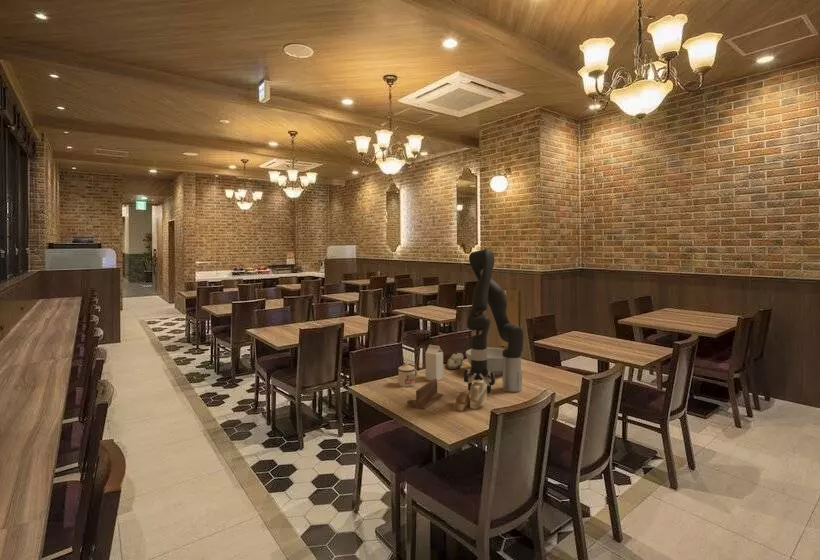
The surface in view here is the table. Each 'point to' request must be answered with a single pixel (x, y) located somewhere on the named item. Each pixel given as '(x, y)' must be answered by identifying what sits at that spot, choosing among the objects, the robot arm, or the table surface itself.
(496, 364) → the decorative bowl
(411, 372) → the teacup with lid
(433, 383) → the rack
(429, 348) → the milk carton
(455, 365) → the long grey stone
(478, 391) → the pale wooden block
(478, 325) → the robot arm
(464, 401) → the offcut stack
